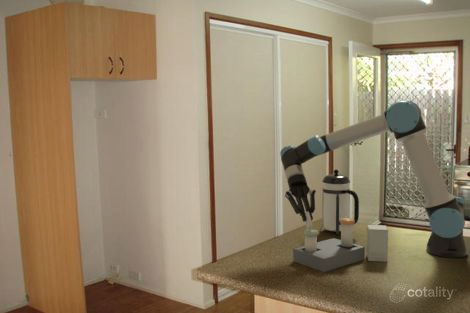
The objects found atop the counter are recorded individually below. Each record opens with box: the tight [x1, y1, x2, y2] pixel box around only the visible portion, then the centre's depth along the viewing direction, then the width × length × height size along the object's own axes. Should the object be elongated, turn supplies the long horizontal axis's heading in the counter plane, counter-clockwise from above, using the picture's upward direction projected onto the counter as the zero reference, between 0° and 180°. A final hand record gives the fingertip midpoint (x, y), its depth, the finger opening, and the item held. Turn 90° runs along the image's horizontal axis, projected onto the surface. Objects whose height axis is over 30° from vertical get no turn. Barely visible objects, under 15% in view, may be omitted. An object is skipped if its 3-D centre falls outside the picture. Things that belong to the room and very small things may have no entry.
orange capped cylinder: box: [340, 217, 355, 247], centre depth 187 cm, size 6×6×10 cm
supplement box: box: [366, 224, 389, 263], centre depth 186 cm, size 7×7×13 cm
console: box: [292, 237, 366, 273], centre depth 186 cm, size 16×23×5 cm
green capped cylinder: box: [302, 228, 319, 253], centre depth 183 cm, size 6×6×10 cm
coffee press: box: [319, 169, 360, 236], centre depth 225 cm, size 17×16×30 cm
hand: (310, 227), depth 183 cm, fingers closed
